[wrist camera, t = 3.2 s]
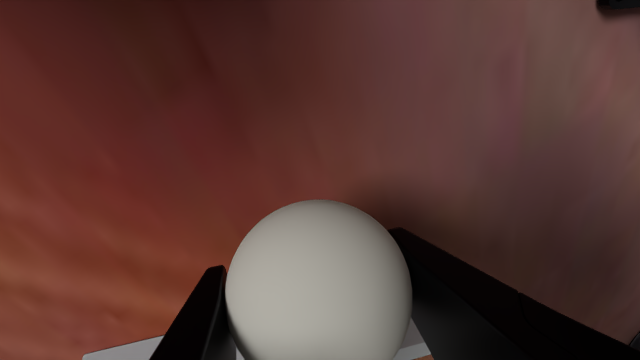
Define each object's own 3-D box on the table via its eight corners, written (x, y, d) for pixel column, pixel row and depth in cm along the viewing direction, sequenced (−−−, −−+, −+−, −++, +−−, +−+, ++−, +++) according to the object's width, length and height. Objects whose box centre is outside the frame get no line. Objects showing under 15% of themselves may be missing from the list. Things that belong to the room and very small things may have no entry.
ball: (372, 156, 9) (468, 267, 6) (371, 271, 12) (439, 406, 8) (208, 184, 9) (193, 334, 5) (241, 301, 11) (248, 466, 7)
